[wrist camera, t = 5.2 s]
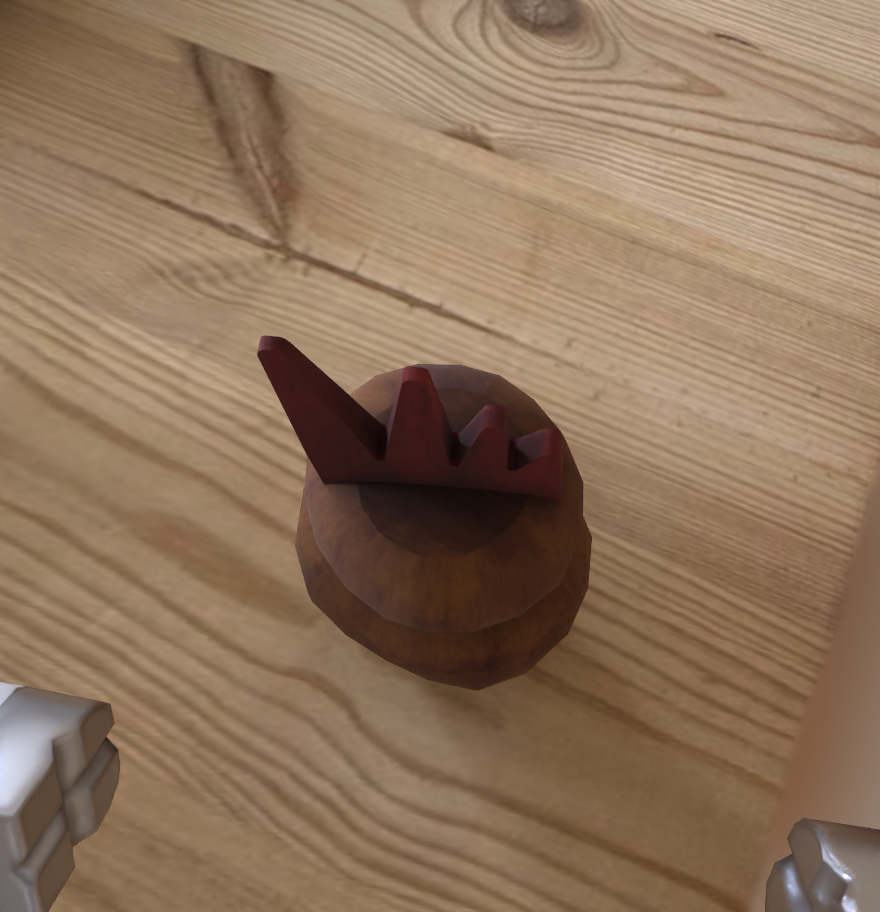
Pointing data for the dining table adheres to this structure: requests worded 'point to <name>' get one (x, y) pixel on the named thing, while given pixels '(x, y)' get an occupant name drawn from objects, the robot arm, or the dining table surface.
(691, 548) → the dining table surface
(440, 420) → the wooden figurine
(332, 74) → the dining table surface
